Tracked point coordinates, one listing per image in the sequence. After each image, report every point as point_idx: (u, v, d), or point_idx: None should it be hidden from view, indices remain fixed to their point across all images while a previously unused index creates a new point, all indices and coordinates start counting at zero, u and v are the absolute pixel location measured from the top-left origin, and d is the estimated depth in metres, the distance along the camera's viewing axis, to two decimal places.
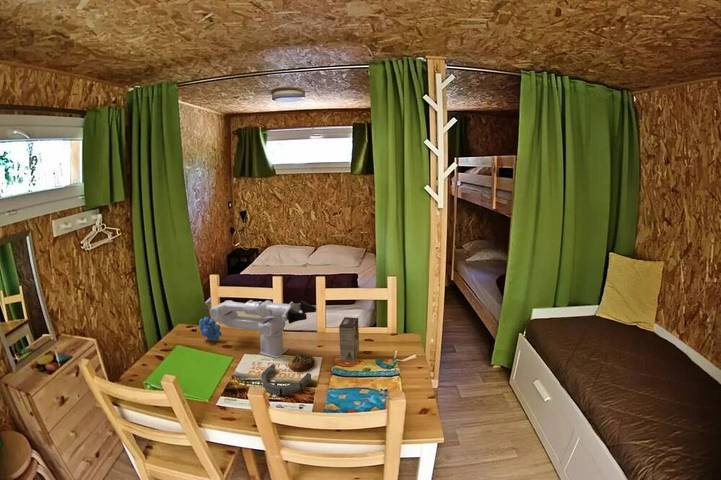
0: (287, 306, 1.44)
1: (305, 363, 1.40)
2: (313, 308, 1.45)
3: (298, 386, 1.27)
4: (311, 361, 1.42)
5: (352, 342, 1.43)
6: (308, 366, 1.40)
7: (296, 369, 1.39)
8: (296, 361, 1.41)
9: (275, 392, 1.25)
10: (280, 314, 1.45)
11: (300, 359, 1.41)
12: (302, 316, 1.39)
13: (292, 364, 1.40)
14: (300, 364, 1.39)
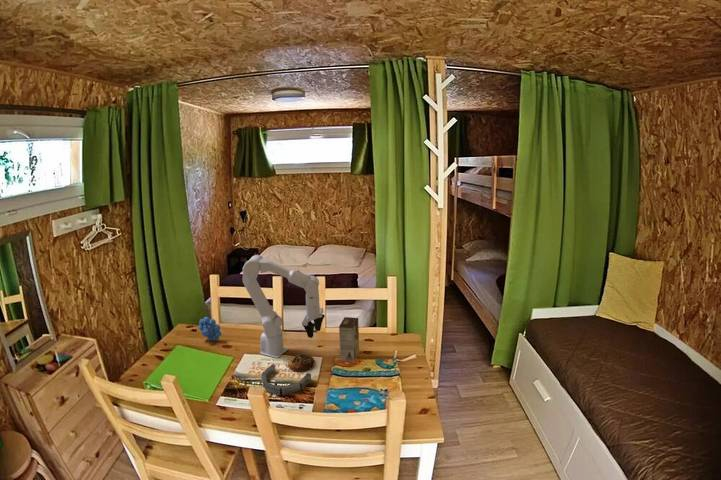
0: (317, 313, 1.48)
1: (305, 363, 1.40)
2: (318, 329, 1.54)
3: (298, 386, 1.27)
4: (311, 361, 1.42)
5: (352, 342, 1.43)
6: (308, 366, 1.40)
7: (296, 369, 1.39)
8: (296, 361, 1.41)
9: (275, 392, 1.25)
10: (308, 308, 1.47)
11: (300, 359, 1.41)
12: (310, 334, 1.48)
13: (292, 364, 1.40)
14: (300, 364, 1.39)
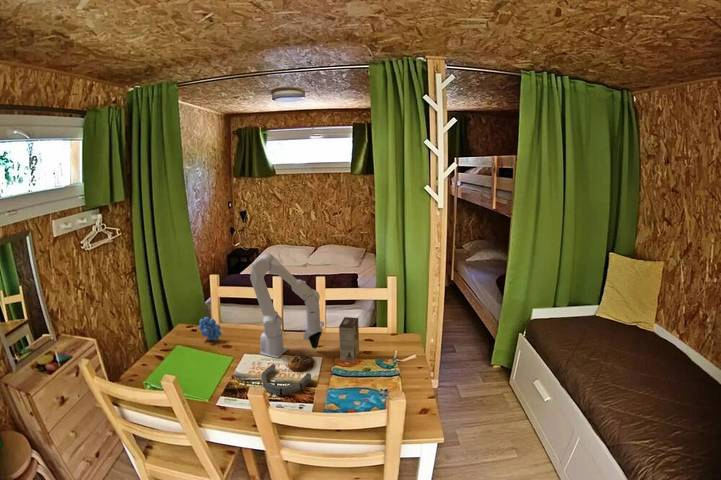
0: (317, 328, 1.49)
1: (304, 363, 1.40)
2: None
3: (298, 386, 1.27)
4: (311, 361, 1.42)
5: (352, 342, 1.43)
6: (308, 366, 1.40)
7: (295, 369, 1.39)
8: (295, 361, 1.41)
9: (275, 392, 1.25)
10: (309, 322, 1.48)
11: (299, 359, 1.41)
12: (314, 345, 1.52)
13: (291, 364, 1.40)
14: (299, 364, 1.39)
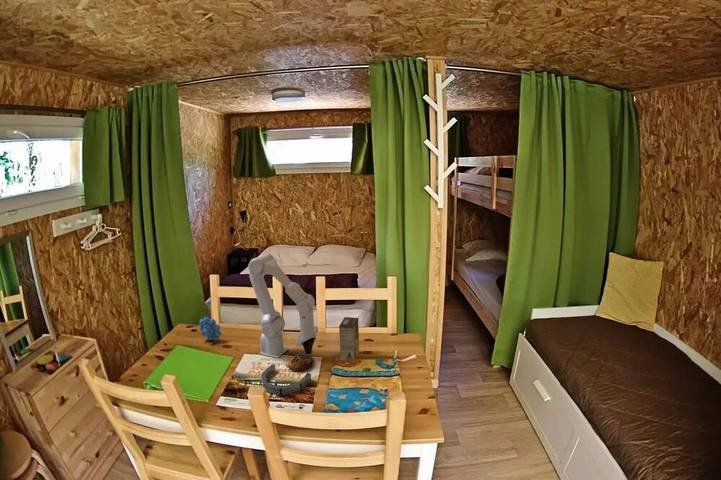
0: (311, 333, 1.44)
1: (304, 363, 1.40)
2: None
3: (298, 386, 1.27)
4: (310, 362, 1.42)
5: (352, 342, 1.43)
6: (307, 366, 1.40)
7: (295, 369, 1.38)
8: (295, 361, 1.41)
9: (275, 392, 1.25)
10: (302, 327, 1.44)
11: (299, 359, 1.41)
12: (307, 351, 1.48)
13: (291, 364, 1.40)
14: (299, 364, 1.39)
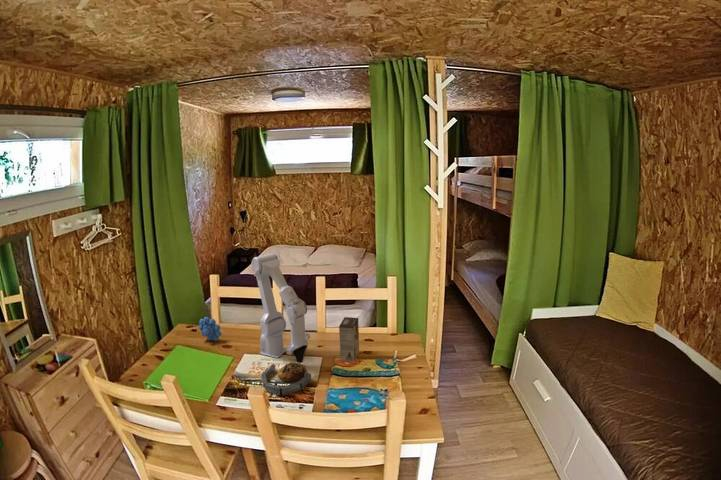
0: (302, 341, 1.38)
1: (296, 372, 1.34)
2: None
3: (298, 386, 1.27)
4: (302, 370, 1.36)
5: (352, 342, 1.43)
6: (300, 375, 1.34)
7: (287, 379, 1.32)
8: (286, 371, 1.34)
9: (275, 392, 1.25)
10: (293, 335, 1.37)
11: (290, 368, 1.35)
12: (299, 359, 1.41)
13: (282, 374, 1.34)
14: (291, 374, 1.33)
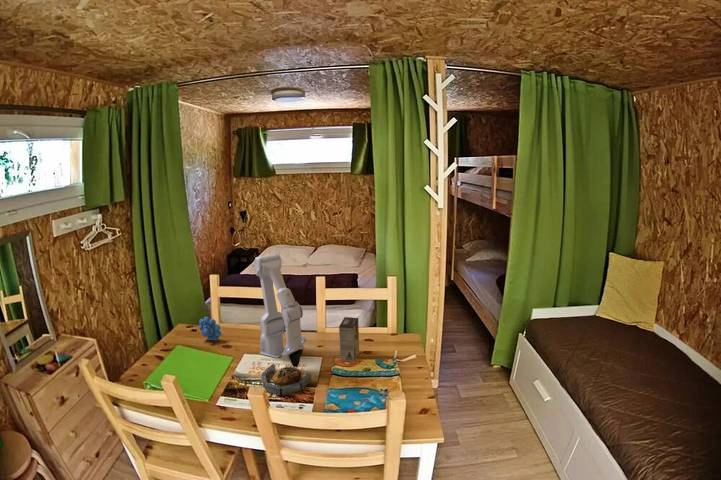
0: (298, 345, 1.35)
1: (292, 376, 1.31)
2: None
3: (298, 386, 1.27)
4: (298, 374, 1.33)
5: (352, 342, 1.43)
6: (296, 379, 1.31)
7: (283, 384, 1.29)
8: (282, 375, 1.31)
9: (275, 392, 1.25)
10: (288, 339, 1.34)
11: (286, 373, 1.32)
12: (294, 364, 1.38)
13: (278, 379, 1.31)
14: (287, 378, 1.30)
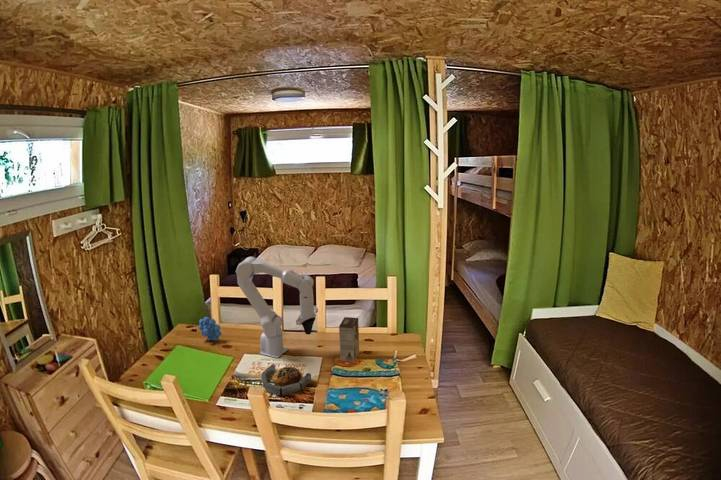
0: (310, 313, 1.47)
1: (292, 377, 1.31)
2: None
3: (298, 386, 1.27)
4: (298, 374, 1.33)
5: (352, 342, 1.43)
6: (295, 379, 1.31)
7: (283, 384, 1.29)
8: (282, 375, 1.31)
9: (275, 392, 1.25)
10: (302, 307, 1.46)
11: (286, 373, 1.32)
12: (307, 331, 1.50)
13: (277, 379, 1.31)
14: (287, 378, 1.30)
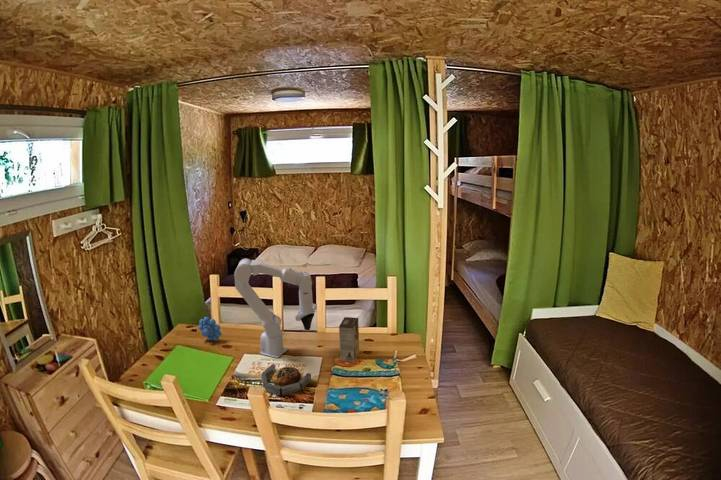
0: (309, 309, 1.50)
1: (291, 377, 1.31)
2: None
3: (298, 386, 1.27)
4: (298, 374, 1.33)
5: (352, 342, 1.43)
6: (295, 379, 1.31)
7: (282, 384, 1.29)
8: (281, 375, 1.31)
9: (275, 392, 1.25)
10: (301, 303, 1.49)
11: (285, 373, 1.32)
12: (306, 327, 1.53)
13: (277, 379, 1.31)
14: (286, 378, 1.30)
